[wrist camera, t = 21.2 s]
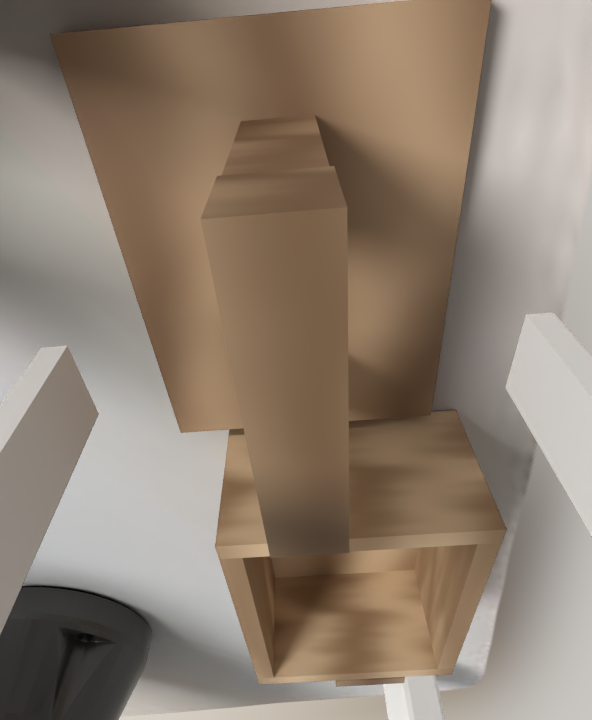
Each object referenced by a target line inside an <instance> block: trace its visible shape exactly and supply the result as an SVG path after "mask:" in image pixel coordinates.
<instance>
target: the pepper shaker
mask: <svg viewBox="0 0 592 720" xmlns="http://www.w3.org/2000/svg"><path fill="white" fill-rule="evenodd" d="M383 688H384V694H385V700H386V708H387V714H388V720H445V715H444V711H443V706H442V702H441V698H440V693H439V689H438V684H437V680H436V676H435V675H429V676H409V677H405V681H404V683H396V684H383Z"/></svg>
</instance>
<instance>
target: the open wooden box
mask: <svg viewBox="0 0 592 720" xmlns="http://www.w3.org/2000/svg"><path fill="white" fill-rule="evenodd" d="M506 530H507V529H506V527H505V524H504V522H503V520H502V517H501V515H500V513H499V510H498V508H497V506H496V503H495V501H494V499H493V496H492V494H491V492H490V489H489V487H488V484H487V482H486V480H485V477H484V475H483V473H482V470H481V468H480V466H479V463H478V461H477V459H476V456H475V454H474V452H473V449H472V447H471V445H470V442H469V440H468V438H467V435H466V433H465V431H464V428H463V426H462V424H461V421H460V419H459V417H458V414H457V412H456V410H449V411H433V412H431V415H430V416H415V417H401V418H386V419H372V420H357V421H349V553H344V554H328V555H312V556H295V557H279V558H270V554H269V550H268V545H267V540H266V535H265V530H264V525H263V521H262V516H261V511H260V506H259V501H258V496H257V491H256V487H255V482H254V477H253V472H252V467H251V462H250V458H249V453H248V448H247V443H246V438H245V433H244V428H242V429H230V430H229V438H228V446H227V454H226V462H225V471H224V479H223V487H222V495H221V503H220V511H219V519H218V528H217V536H216V544H215V548H216V551H217V554H218V557H219V560H220V563H221V566H222V569H223V573H224V576H225V579H226V582H227V585H228V588H229V591H230V594H231V597H232V601H233V604H234V607H235V610H236V613H237V616H238V619H239V622H240V625H241V629H242V632H243V635H244V638H245V641H246V644H247V647H248V650H249V653H250V657H251V660H252V663H253V666H254V669H255V672H256V675H257V678H258V681H259V684H275V683H294V682H313V681H332V680H352V679H371V678H390V677H409V676H429V675H448V674H452V672H453V669H454V667H455V664H456V662H457V659H458V656H459V654H460V651H461V648H462V646H463V643H464V640H465V638H466V635H467V633H468V630H469V627H470V625H471V622H472V619H473V617H474V614H475V612H476V609H477V606H478V604H479V601H480V598H481V596H482V593H483V591H484V588H485V585H486V583H487V580H488V577H489V575H490V572H491V570H492V567H493V564H494V562H495V559H496V556H497V554H498V551H499V549H500V546H501V543H502V541H503V538H504V535H505V533H506Z"/></svg>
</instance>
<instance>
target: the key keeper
mask: <svg viewBox="0 0 592 720" xmlns="http://www.w3.org/2000/svg"><path fill="white" fill-rule="evenodd" d="M404 681H405V677H390V678H371V679H352V680H336V687H338V686H358V685H377V684H396V683H404Z"/></svg>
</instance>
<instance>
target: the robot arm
mask: <svg viewBox="0 0 592 720" xmlns="http://www.w3.org/2000/svg"><path fill="white" fill-rule="evenodd" d="M505 388H506V390H507V391H508V393H509V395H510V397H511V398H512V400H513V402H514V403H515V405H516V407H517V409H518V410H519V412H520V414H521V416H522V417H523V419H524V421H525V422H526V424H527V426H528V428H529V429H530V431H531V433H532V434H533V436H534V438H535V440H536V441H537V443H538V445H539V446H540V448H541V450H542V452H543V453H544V455H545V457H546V459H547V460H548V462H549V464H550V465H551V467H552V469H553V471H554V472H555V474H556V476H557V478H558V479H559V481H560V483H561V484H562V486H563V488H564V490H565V491H566V493H567V495H568V496H569V498H570V500H571V502H572V503H573V505H574V507H575V508H576V510H577V512H578V514H579V515H580V517H581V519H582V520H583V522H584V524H585V526H586V527H587V529H588V531H589V533H590V534H591V536H592V356H591V355H590V353H589V352H588V351H587V350H586V349H585V348H584V347H583V345H582V344H581V343H580V342H579V341H578V340H577V339H576V338H575V336H574V335H573V334H572V333H571V332H570V331H569V330H568V328H567V327H566V326H565V325H564V324H563V323H562V322H561V320H560V319H559V318H558V317H557V316H556V315H555V314H554V312H552V313H538V314H526V316H525V320H524V323H523V327H522V330H521V334H520V338H519V341H518V345H517V348H516V352H515V355H514V359H513V362H512V366H511V369H510V373H509V376H508V380H507V384H506V387H505ZM98 415H99V414H98V412H97V409H96V407H95V405H94V403H93V401H92V399H91V396H90V394H89V392H88V390H87V388H86V386H85V383H84V381H83V379H82V377H81V375H80V372H79V370H78V368H77V366H76V364H75V362H74V359H73V357H72V355H71V353H70V351H69V348H68V346H56V347H41V348H40V350H39V351H38V353H37V354H36V355H35V357H34V358H33V360H32V361H31V363H30V364H29V365H28V367H27V368H26V370H25V371H24V373H23V374H22V376H21V377H20V378H19V380H18V381H17V383H16V384H15V386H14V387H13V388H12V390H11V391H10V393H9V394H8V396H7V397H6V398H5V400H4V401H3V403H2V404H1V406H0V720H119V718H120V716H121V714H122V712H123V710H124V708H125V706H126V704H127V702H128V700H129V698H130V696H131V694H132V692H133V690H134V688H135V686H136V684H137V682H138V680H139V678H140V676H141V674H142V672H143V670H144V667H145V664H146V661H147V656H148V651H149V646H150V641H151V631H150V628H149V626H148V625H147V623H146V622H145V621H144V620H143V619H142V618H141V617H140V616H139V615H137V614H136V613H135V612H133V611H131V610H130V609H128V608H126V607H124V606H122V605H120V604H118V603H115V602H113V601H110V600H108V599H105V598H102V597H99V596H95V595H91V594H87V593H83V592H78V591H72V590H66V589H57V588H45V587H22V585H23V583H24V581H25V578H26V576H27V574H28V572H29V569H30V567H31V565H32V563H33V560H34V558H35V556H36V554H37V551H38V549H39V547H40V545H41V542H42V540H43V538H44V536H45V533H46V531H47V529H48V527H49V524H50V522H51V520H52V518H53V515H54V513H55V511H56V509H57V507H58V504H59V502H60V500H61V498H62V495H63V493H64V491H65V489H66V486H67V484H68V482H69V480H70V477H71V475H72V473H73V471H74V468H75V466H76V464H77V462H78V459H79V457H80V455H81V453H82V450H83V448H84V446H85V444H86V441H87V439H88V437H89V435H90V432H91V430H92V428H93V426H94V424H95V421H96V419H97V417H98ZM21 587H22V588H21Z"/></svg>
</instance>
